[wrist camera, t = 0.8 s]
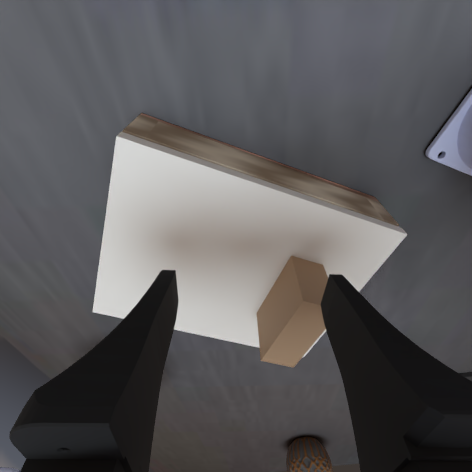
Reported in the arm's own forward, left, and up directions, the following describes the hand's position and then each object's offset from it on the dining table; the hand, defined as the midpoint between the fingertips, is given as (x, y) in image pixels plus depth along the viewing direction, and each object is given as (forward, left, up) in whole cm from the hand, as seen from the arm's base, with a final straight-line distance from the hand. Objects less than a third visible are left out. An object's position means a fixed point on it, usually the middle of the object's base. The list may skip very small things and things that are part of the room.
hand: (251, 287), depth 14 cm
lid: (-1, +4, -6) cm, 7 cm away
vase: (-26, +39, -10) cm, 48 cm away
